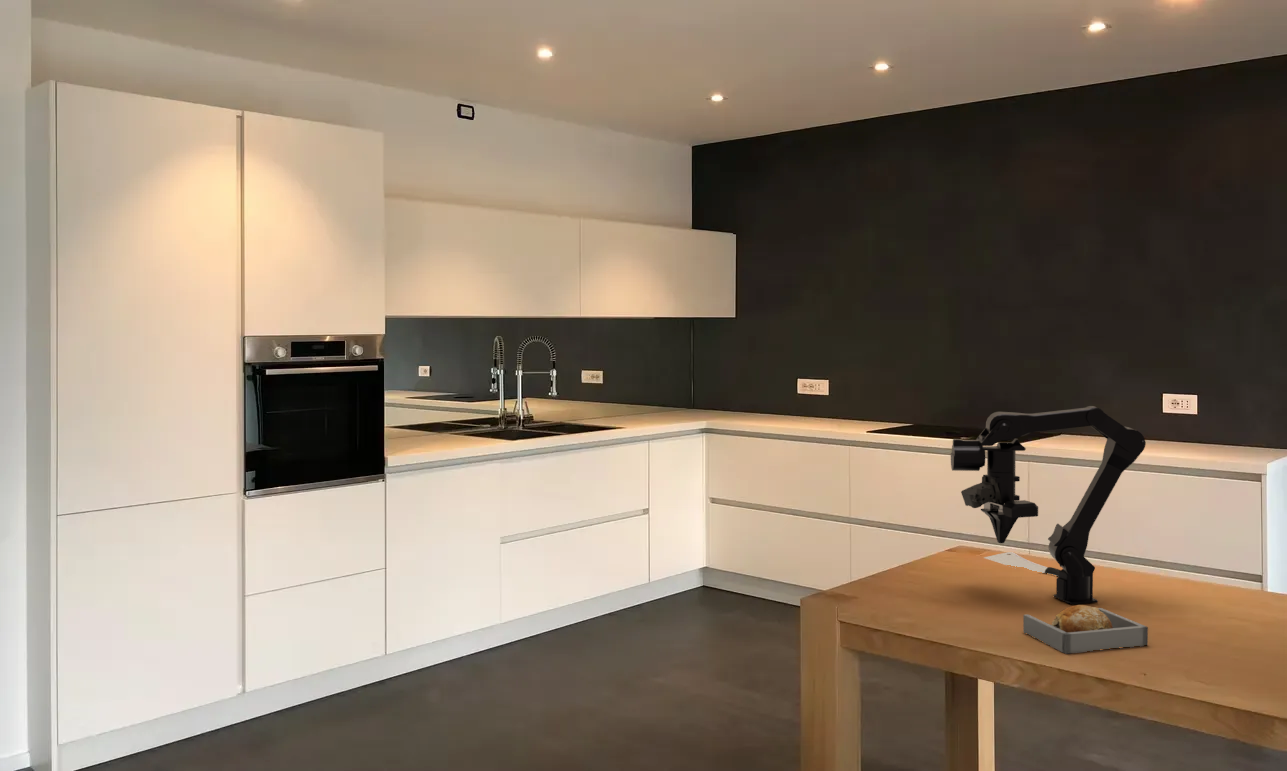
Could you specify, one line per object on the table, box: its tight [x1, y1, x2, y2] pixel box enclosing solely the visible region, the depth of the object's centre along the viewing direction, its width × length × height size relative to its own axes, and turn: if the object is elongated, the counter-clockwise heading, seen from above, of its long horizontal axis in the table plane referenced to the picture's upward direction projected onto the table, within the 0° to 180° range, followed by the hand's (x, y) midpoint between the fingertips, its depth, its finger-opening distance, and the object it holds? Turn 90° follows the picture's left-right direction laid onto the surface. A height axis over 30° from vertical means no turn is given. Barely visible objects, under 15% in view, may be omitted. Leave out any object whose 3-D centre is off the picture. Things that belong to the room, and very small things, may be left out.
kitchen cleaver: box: [983, 551, 1060, 576], centre depth 244 cm, size 31×2×10 cm
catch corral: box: [1022, 607, 1149, 655], centre depth 192 cm, size 17×13×4 cm
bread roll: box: [1051, 604, 1113, 633], centre depth 193 cm, size 10×10×8 cm
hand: (1000, 542), depth 220 cm, fingers closed
